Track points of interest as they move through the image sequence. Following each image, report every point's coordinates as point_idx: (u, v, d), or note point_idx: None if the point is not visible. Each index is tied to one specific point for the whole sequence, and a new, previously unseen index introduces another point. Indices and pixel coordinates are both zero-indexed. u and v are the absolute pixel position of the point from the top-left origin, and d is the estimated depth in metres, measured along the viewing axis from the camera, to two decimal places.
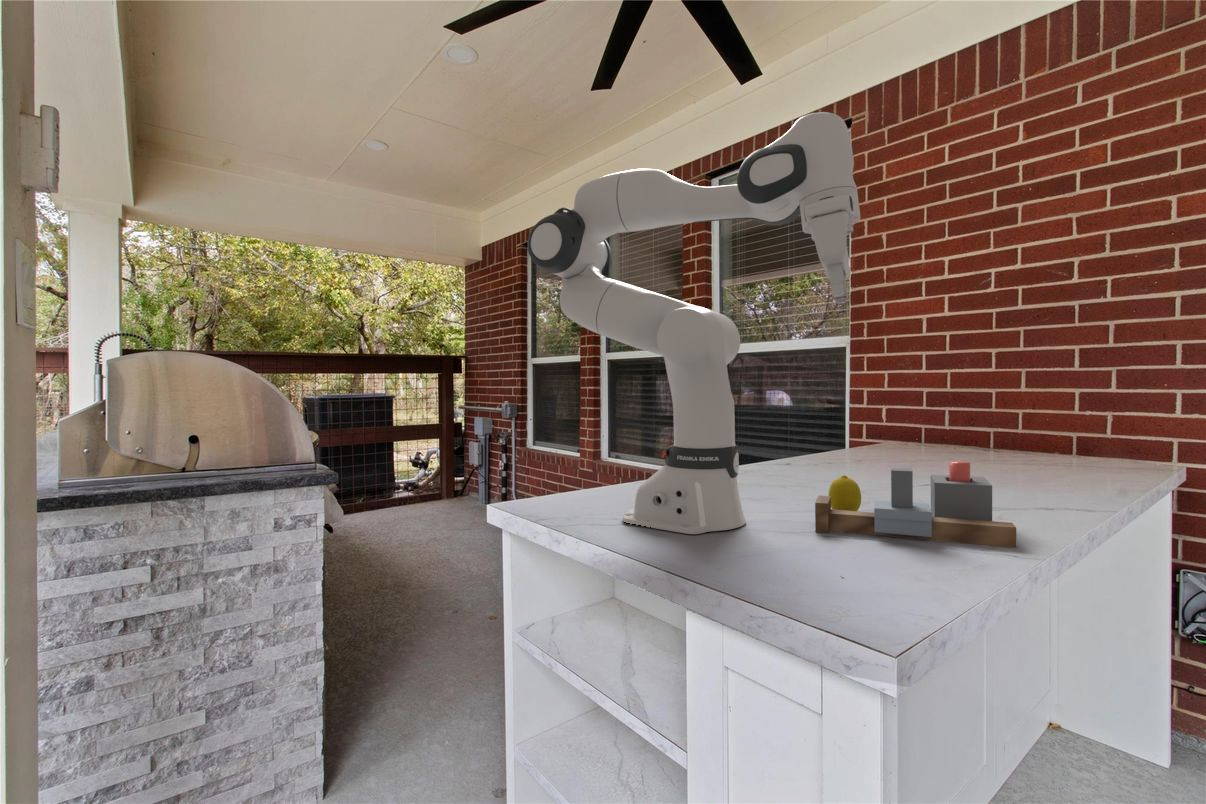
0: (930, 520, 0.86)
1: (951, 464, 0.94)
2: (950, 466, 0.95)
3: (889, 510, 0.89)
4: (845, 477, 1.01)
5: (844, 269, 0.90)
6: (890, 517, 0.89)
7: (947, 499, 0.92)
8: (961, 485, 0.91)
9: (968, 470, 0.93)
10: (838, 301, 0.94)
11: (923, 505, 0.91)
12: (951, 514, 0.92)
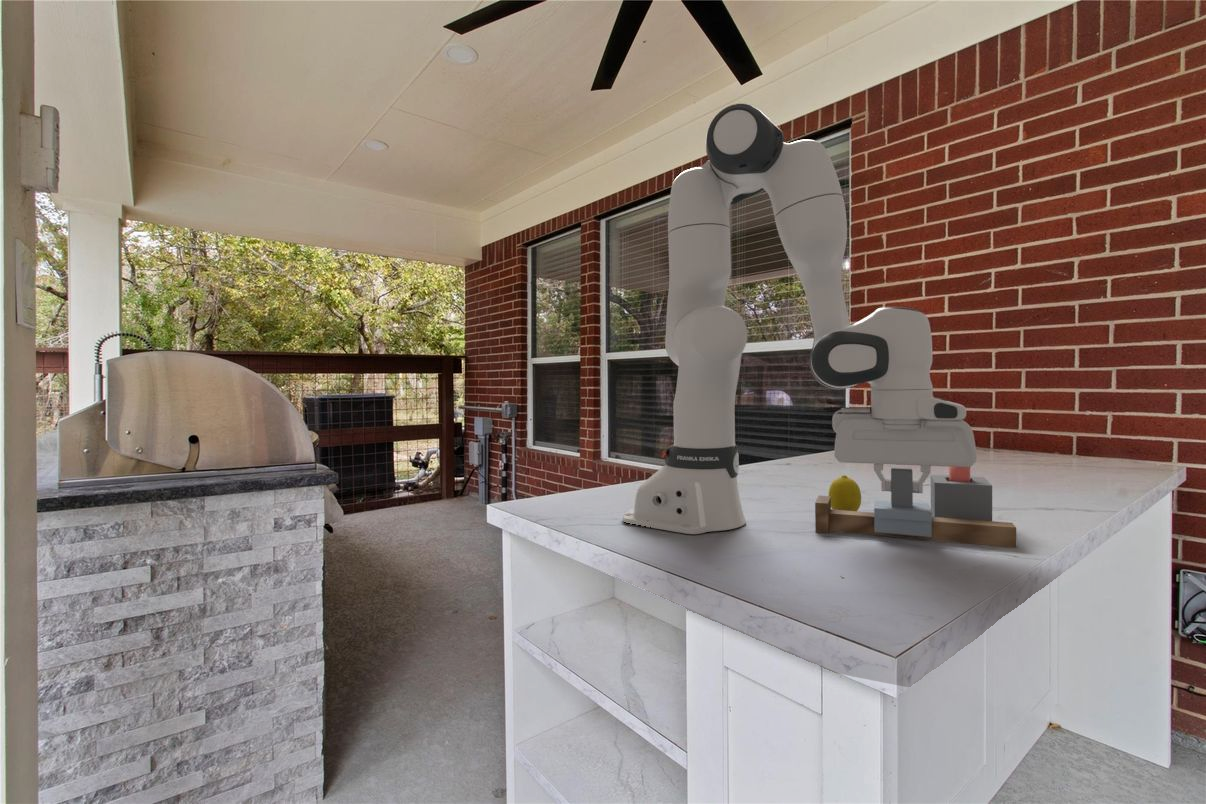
0: (930, 520, 0.86)
1: None
2: None
3: (889, 510, 0.89)
4: (845, 477, 1.01)
5: None
6: (890, 517, 0.89)
7: (947, 499, 0.92)
8: (961, 485, 0.91)
9: (968, 470, 0.93)
10: None
11: (923, 505, 0.91)
12: (951, 514, 0.92)
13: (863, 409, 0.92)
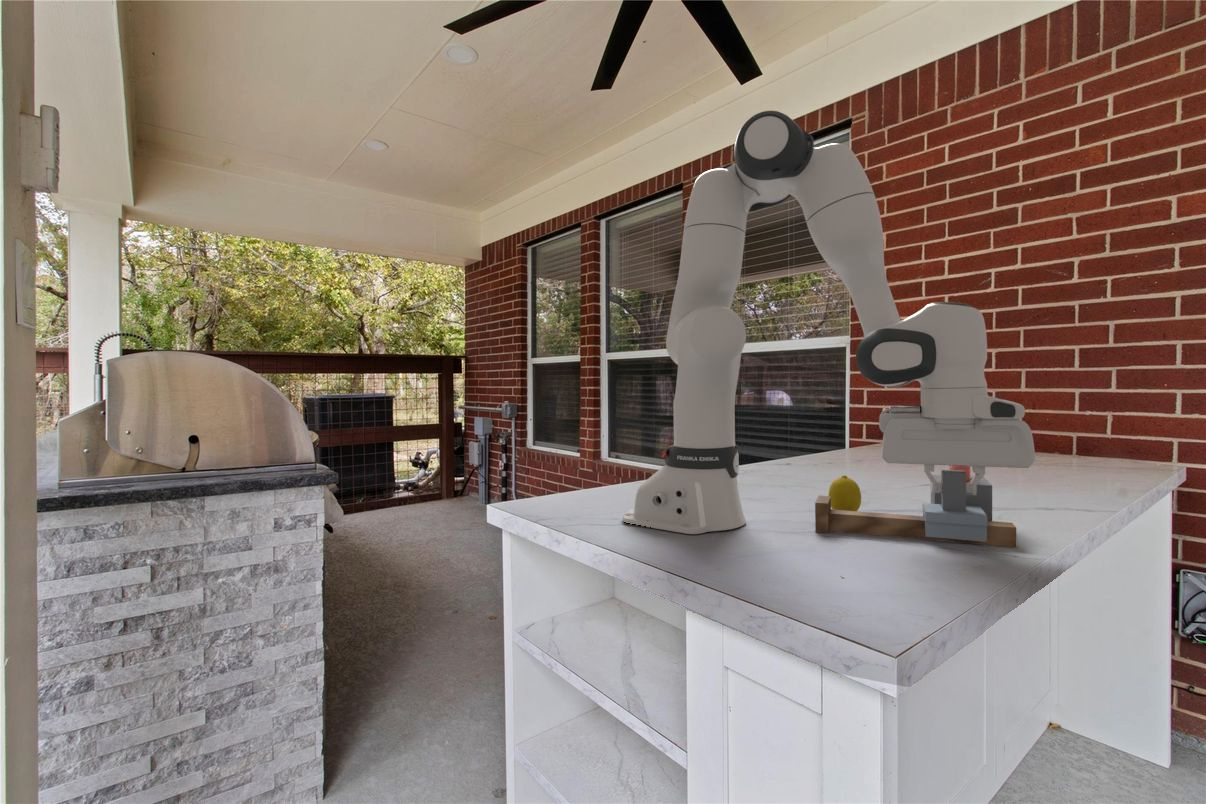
0: (986, 524, 0.83)
1: None
2: (950, 466, 0.95)
3: (941, 514, 0.86)
4: (845, 477, 1.01)
5: None
6: (942, 521, 0.85)
7: None
8: None
9: (968, 470, 0.93)
10: None
11: (975, 508, 0.87)
12: None
13: (912, 408, 0.89)
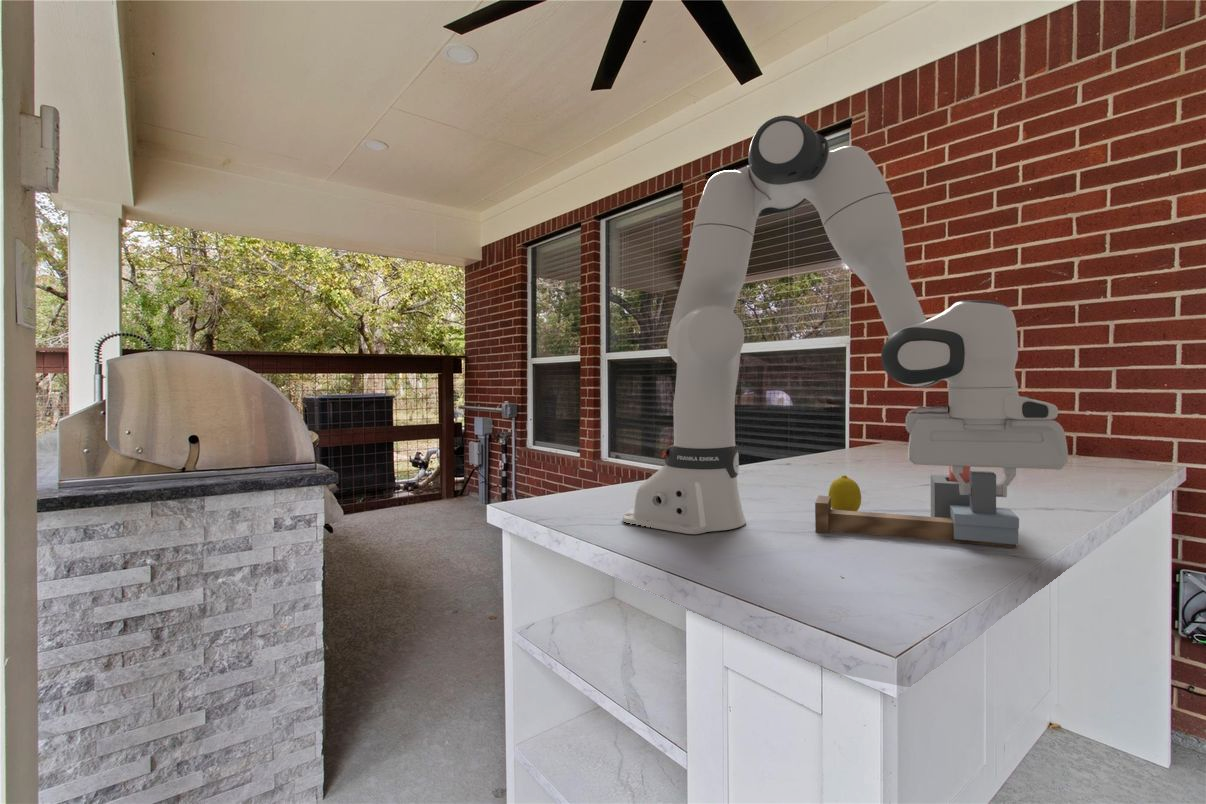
0: (1017, 527, 0.81)
1: None
2: (950, 466, 0.95)
3: (971, 516, 0.84)
4: (845, 477, 1.01)
5: None
6: (972, 523, 0.84)
7: (947, 499, 0.92)
8: None
9: (968, 470, 0.93)
10: None
11: (1005, 510, 0.86)
12: None
13: (940, 408, 0.87)
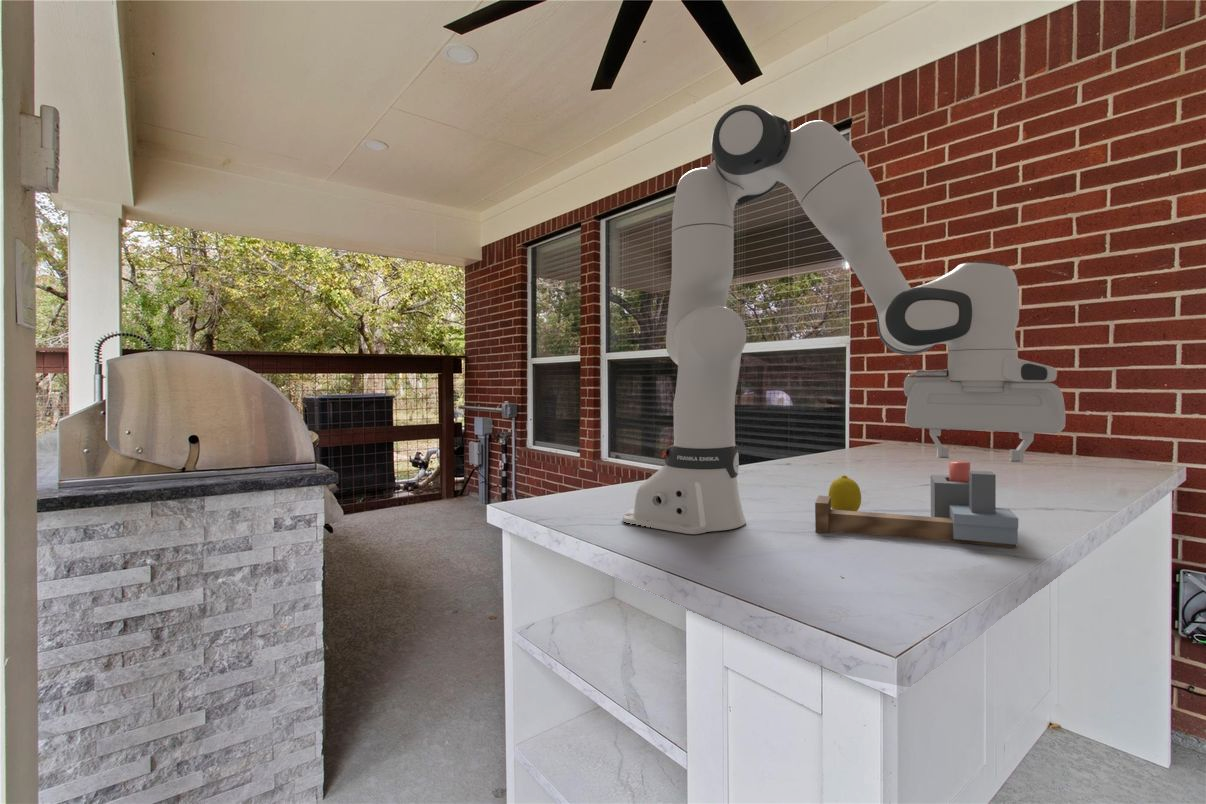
0: (1016, 527, 0.81)
1: (951, 464, 0.94)
2: (950, 466, 0.95)
3: (970, 516, 0.84)
4: (845, 477, 1.01)
5: None
6: (972, 523, 0.84)
7: (947, 499, 0.92)
8: (961, 485, 0.91)
9: (968, 470, 0.93)
10: None
11: (1005, 510, 0.86)
12: None
13: (939, 372, 0.87)
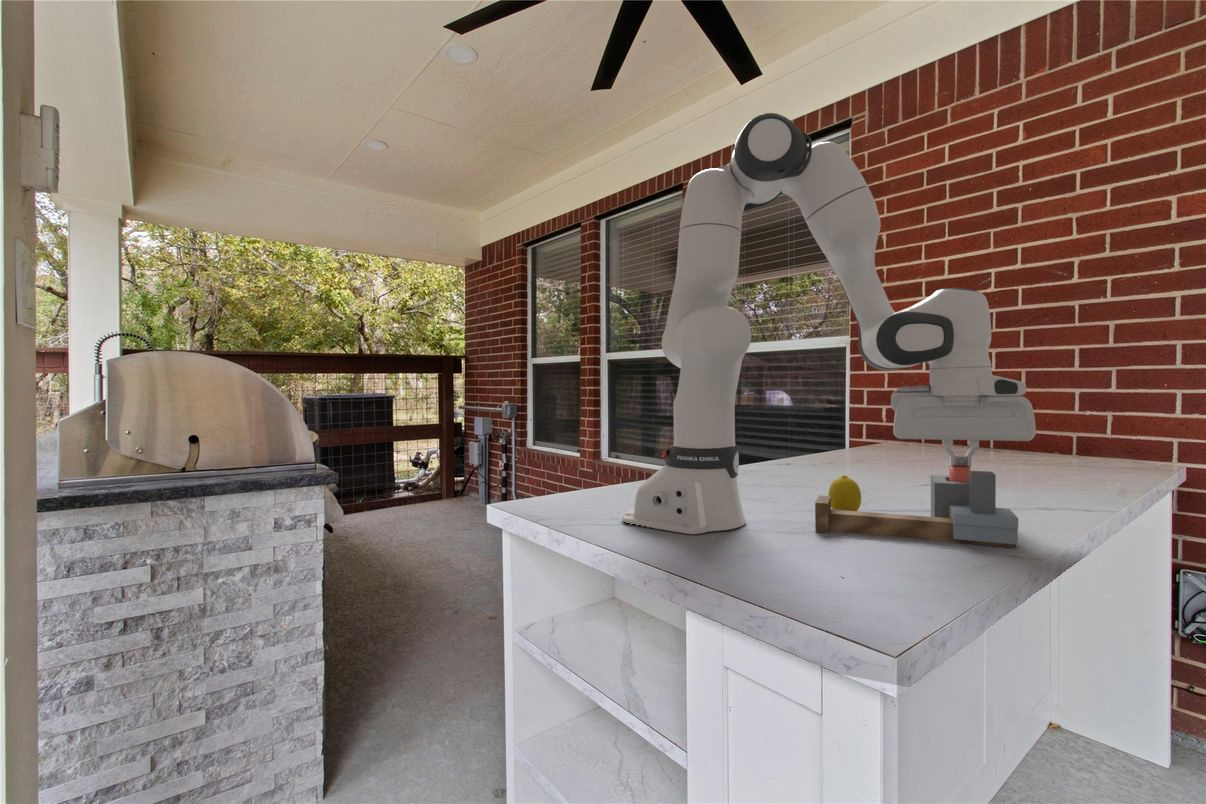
0: (1016, 527, 0.81)
1: (951, 468, 0.94)
2: (950, 470, 0.95)
3: (970, 516, 0.84)
4: (845, 477, 1.01)
5: None
6: (972, 523, 0.84)
7: (947, 499, 0.92)
8: (961, 485, 0.91)
9: (968, 474, 0.93)
10: None
11: (1005, 510, 0.86)
12: None
13: (922, 387, 0.96)
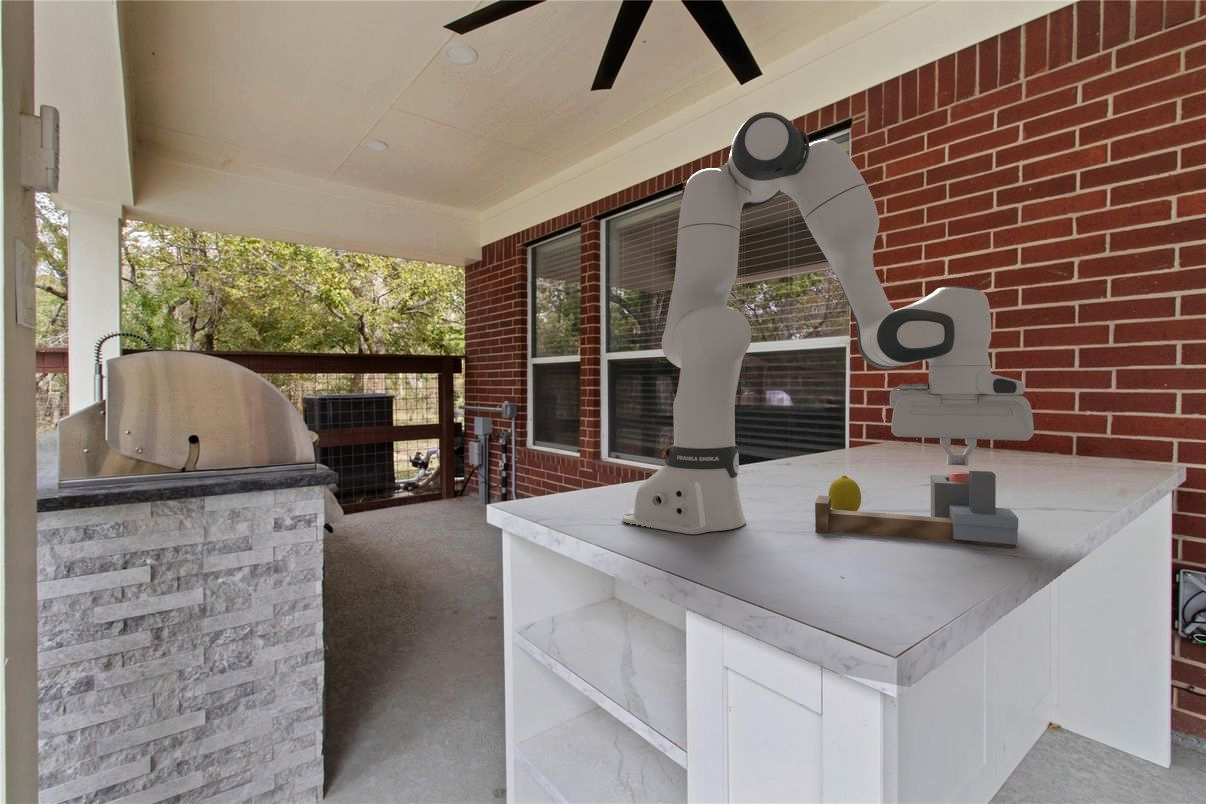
0: (1016, 527, 0.81)
1: (951, 475, 0.94)
2: (950, 477, 0.95)
3: (970, 516, 0.84)
4: (845, 477, 1.01)
5: None
6: (972, 523, 0.84)
7: (947, 499, 0.92)
8: (961, 485, 0.91)
9: (968, 481, 0.93)
10: None
11: (1005, 510, 0.86)
12: None
13: (921, 385, 0.96)
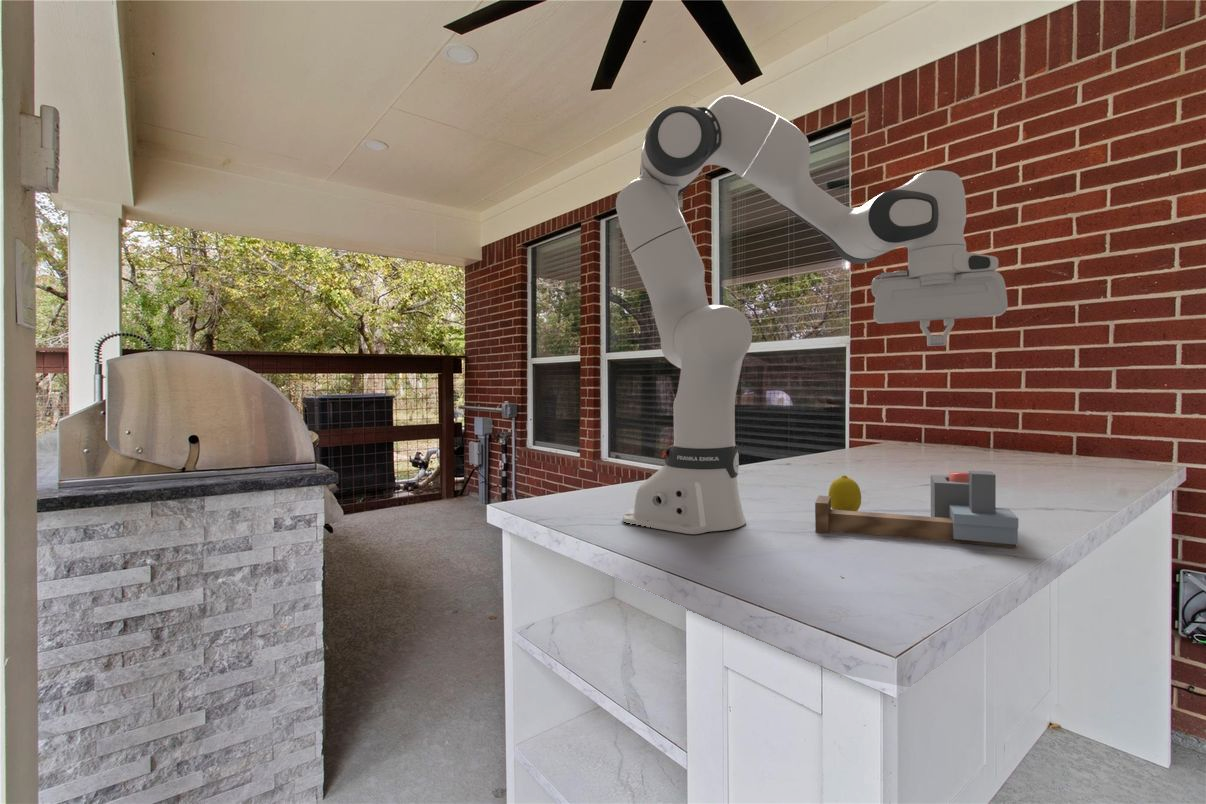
0: (1016, 527, 0.81)
1: (951, 475, 0.94)
2: (950, 477, 0.95)
3: (970, 516, 0.84)
4: (845, 477, 1.01)
5: (936, 319, 0.99)
6: (972, 523, 0.84)
7: (947, 499, 0.92)
8: (961, 485, 0.91)
9: (968, 481, 0.93)
10: None
11: (1005, 510, 0.86)
12: None
13: (901, 272, 1.00)
